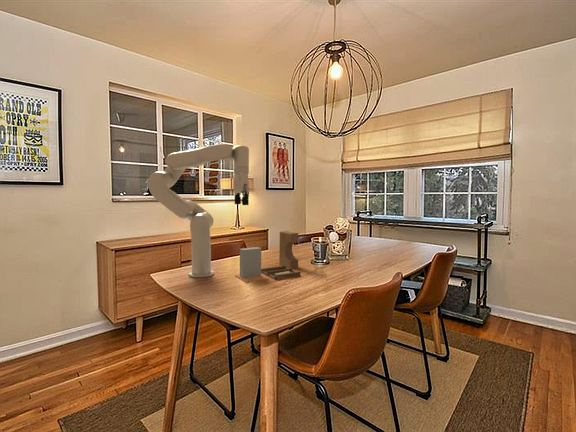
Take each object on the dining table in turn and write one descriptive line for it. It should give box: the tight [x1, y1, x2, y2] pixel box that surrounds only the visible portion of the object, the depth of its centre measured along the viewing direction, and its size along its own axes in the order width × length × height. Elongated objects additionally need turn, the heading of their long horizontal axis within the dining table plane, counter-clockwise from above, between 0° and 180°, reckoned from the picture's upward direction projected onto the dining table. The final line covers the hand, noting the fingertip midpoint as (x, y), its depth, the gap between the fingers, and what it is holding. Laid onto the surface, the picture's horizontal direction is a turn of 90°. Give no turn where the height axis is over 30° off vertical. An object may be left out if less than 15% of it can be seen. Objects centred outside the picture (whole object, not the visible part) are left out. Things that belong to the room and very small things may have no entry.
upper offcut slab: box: [273, 271, 292, 276], centre depth 162 cm, size 5×9×1 cm, turn 127°
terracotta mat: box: [234, 273, 270, 284], centre depth 160 cm, size 14×12×1 cm
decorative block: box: [278, 230, 299, 270], centre depth 182 cm, size 11×6×20 cm, turn 38°
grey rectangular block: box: [239, 246, 262, 278], centre depth 160 cm, size 4×10×14 cm, turn 122°
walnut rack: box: [261, 265, 301, 281], centre depth 165 cm, size 15×15×2 cm
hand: (241, 204), depth 162 cm, fingers open, 9 cm apart
